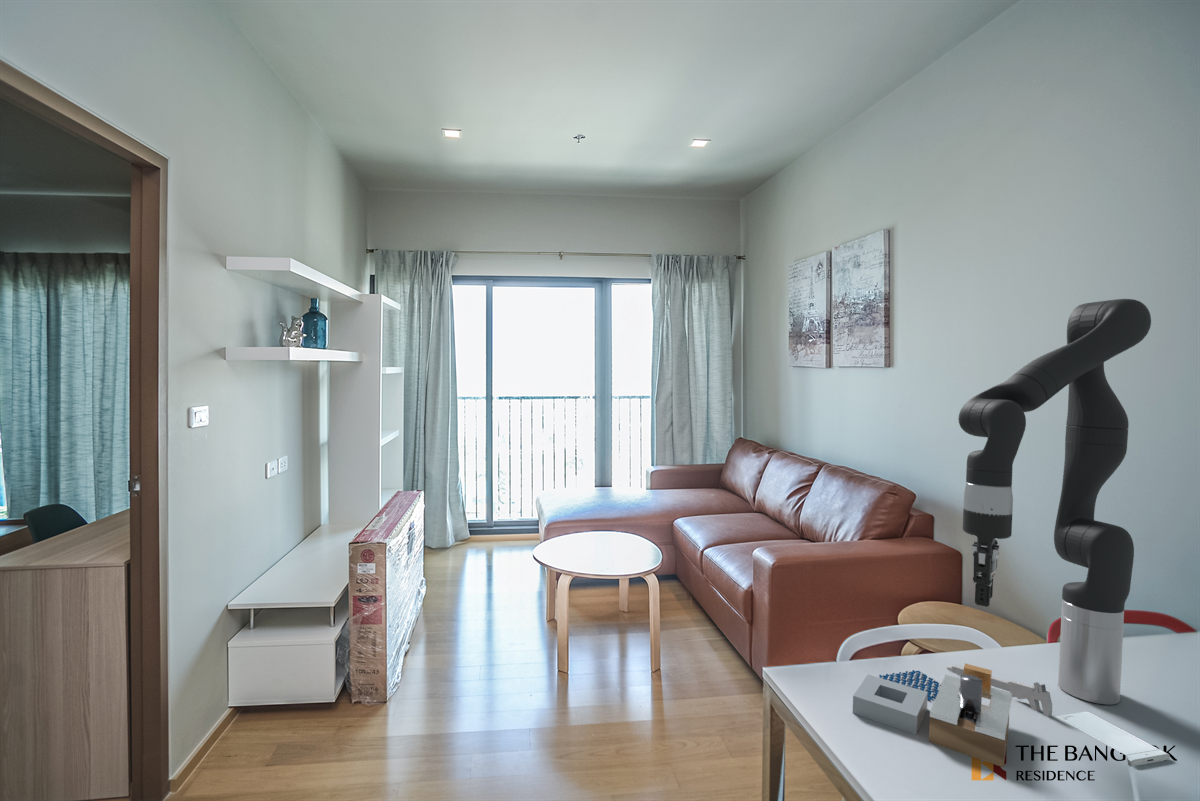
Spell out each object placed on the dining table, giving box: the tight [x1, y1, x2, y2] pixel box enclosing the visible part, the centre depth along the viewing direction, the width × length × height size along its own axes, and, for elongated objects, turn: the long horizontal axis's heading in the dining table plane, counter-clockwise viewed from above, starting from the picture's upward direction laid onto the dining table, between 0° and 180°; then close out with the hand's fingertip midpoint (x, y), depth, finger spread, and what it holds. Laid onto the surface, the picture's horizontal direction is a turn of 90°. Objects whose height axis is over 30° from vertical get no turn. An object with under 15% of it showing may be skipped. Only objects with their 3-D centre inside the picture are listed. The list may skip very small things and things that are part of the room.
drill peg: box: [959, 674, 983, 723], centre depth 97 cm, size 3×3×10 cm
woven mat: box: [878, 669, 960, 702], centre depth 114 cm, size 10×11×2 cm
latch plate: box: [929, 663, 1013, 740], centre depth 99 cm, size 16×10×4 cm, turn 142°
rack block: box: [852, 674, 929, 735], centre depth 105 cm, size 10×10×4 cm
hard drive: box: [1055, 711, 1171, 767], centre depth 100 cm, size 2×8×12 cm
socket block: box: [928, 709, 1010, 768], centre depth 97 cm, size 10×10×5 cm
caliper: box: [946, 665, 1053, 718], centre depth 114 cm, size 20×1×6 cm, turn 19°
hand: (983, 600), depth 109 cm, fingers open, 5 cm apart
